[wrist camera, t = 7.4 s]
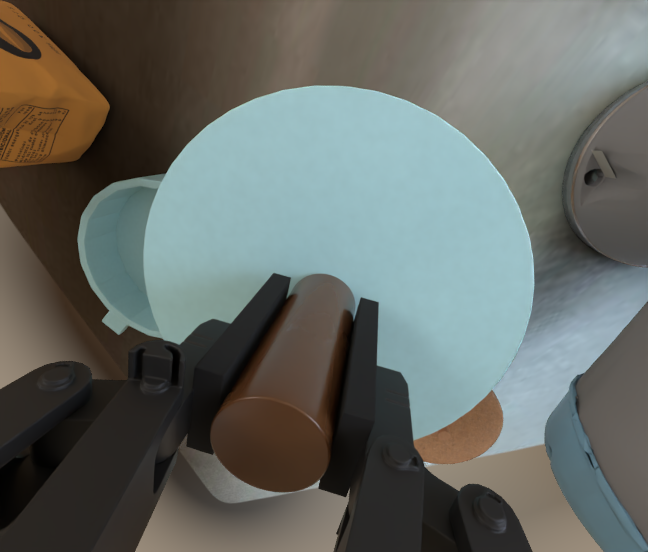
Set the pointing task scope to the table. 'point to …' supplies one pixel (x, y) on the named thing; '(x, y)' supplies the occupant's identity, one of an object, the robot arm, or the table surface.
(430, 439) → the trinket box
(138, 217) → the pan
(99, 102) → the coffee package
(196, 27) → the table surface
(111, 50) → the table surface
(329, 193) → the pan lid
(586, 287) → the table surface
